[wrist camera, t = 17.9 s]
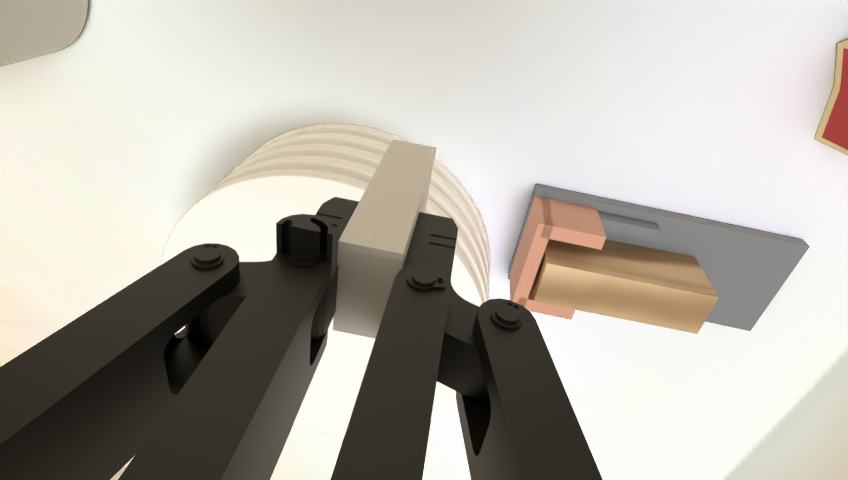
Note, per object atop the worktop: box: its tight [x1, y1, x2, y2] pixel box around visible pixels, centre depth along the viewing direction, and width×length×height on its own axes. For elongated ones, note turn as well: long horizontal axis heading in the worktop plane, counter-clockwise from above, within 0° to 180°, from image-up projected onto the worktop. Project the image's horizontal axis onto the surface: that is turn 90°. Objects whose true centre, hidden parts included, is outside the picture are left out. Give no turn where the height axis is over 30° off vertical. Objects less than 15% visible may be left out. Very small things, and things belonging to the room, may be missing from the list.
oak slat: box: [533, 239, 719, 334], centre depth 44 cm, size 4×14×6 cm, turn 81°
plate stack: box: [161, 124, 490, 436], centre depth 47 cm, size 28×28×12 cm
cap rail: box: [508, 184, 809, 331], centre depth 45 cm, size 10×24×6 cm, turn 81°
